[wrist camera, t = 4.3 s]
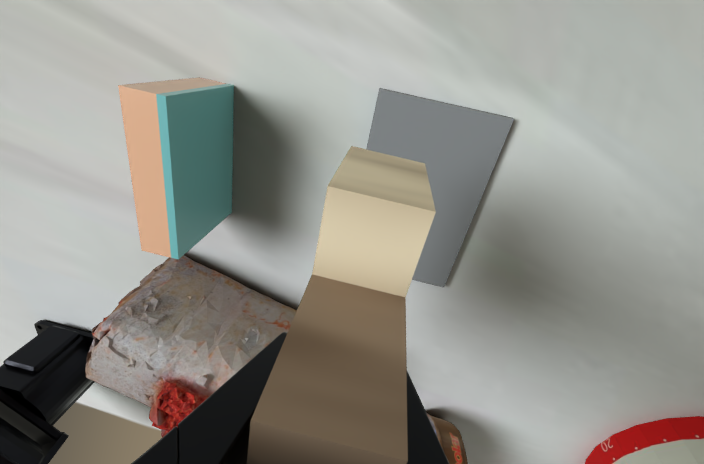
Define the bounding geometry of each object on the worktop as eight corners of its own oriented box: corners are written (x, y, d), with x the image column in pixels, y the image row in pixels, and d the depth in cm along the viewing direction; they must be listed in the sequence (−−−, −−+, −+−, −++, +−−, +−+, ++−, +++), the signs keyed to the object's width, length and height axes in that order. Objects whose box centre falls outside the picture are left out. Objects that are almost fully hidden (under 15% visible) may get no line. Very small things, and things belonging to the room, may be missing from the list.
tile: (232, 212, 22) (178, 259, 17) (203, 205, 22) (141, 250, 17) (234, 85, 18) (165, 96, 13) (200, 77, 19) (118, 85, 13)
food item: (344, 318, 25) (312, 453, 17) (304, 376, 29) (261, 510, 20) (178, 236, 24) (49, 336, 15) (159, 307, 28) (47, 420, 19)
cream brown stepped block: (365, 350, 15) (334, 601, 8) (313, 337, 15) (236, 574, 8) (424, 163, 11) (466, 348, 4) (351, 146, 11) (261, 297, 4)
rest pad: (443, 283, 22) (443, 287, 22) (343, 259, 23) (342, 262, 22) (512, 117, 17) (514, 119, 17) (380, 88, 17) (379, 88, 17)
